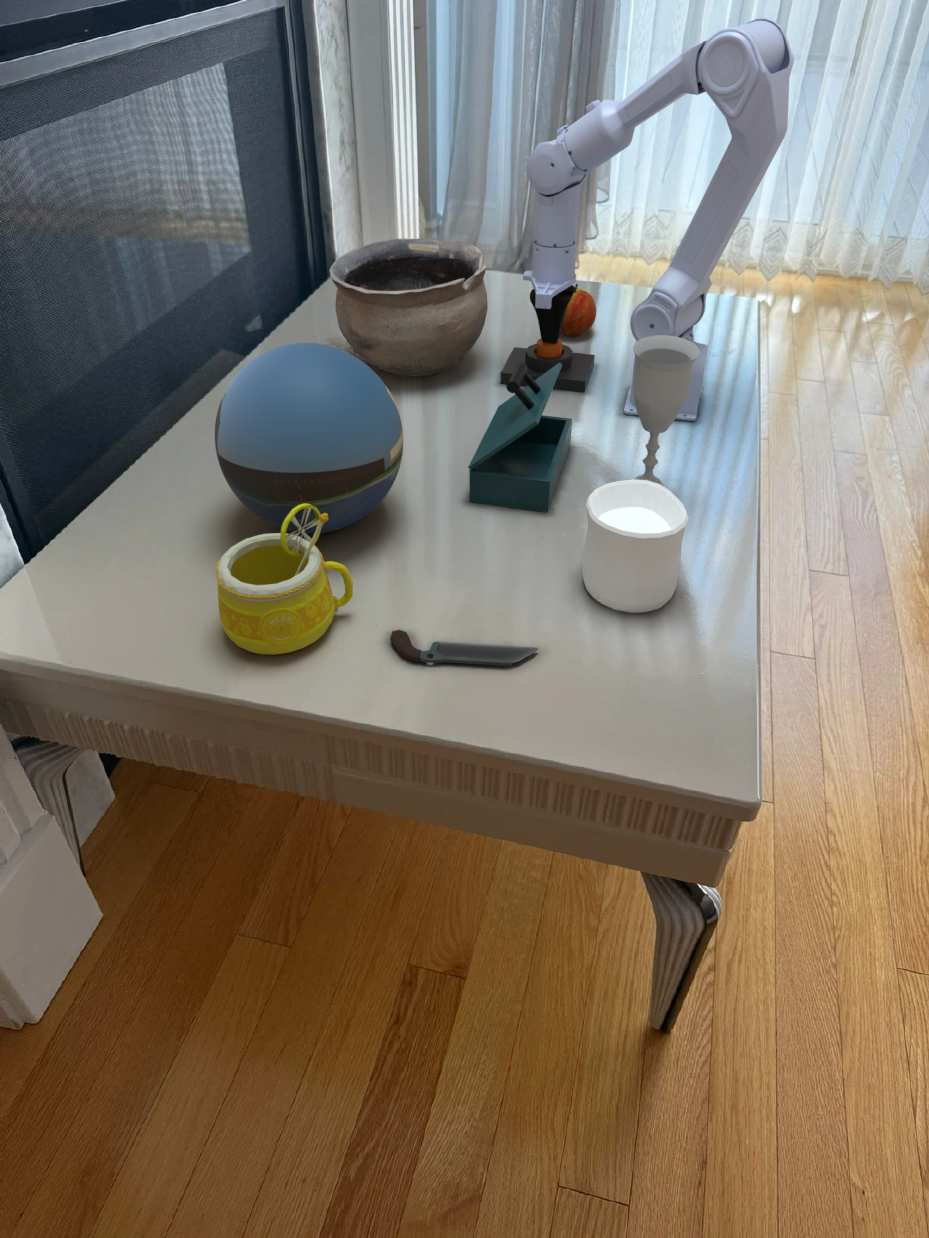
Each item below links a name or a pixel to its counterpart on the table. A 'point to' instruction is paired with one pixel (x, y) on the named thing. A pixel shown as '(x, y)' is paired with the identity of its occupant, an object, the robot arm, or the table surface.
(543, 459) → the open box
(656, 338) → the chalice
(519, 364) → the teal panel with handle
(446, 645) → the knife
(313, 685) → the table surface
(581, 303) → the fruit
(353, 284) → the ceramic bowl
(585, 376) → the switch base
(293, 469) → the decorative sphere
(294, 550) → the mug
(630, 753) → the table surface
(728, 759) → the table surface
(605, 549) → the cup
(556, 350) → the switch button
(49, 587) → the table surface
